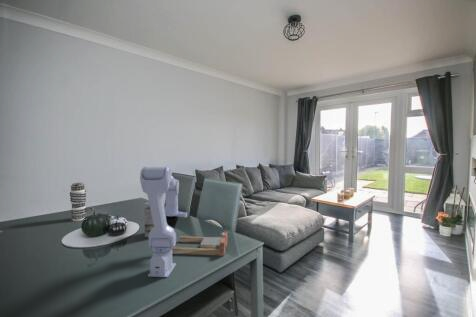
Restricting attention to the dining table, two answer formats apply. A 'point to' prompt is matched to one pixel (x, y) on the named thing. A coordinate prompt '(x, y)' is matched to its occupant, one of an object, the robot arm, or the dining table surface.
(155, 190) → the robot arm
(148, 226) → the coffee box
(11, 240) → the dining table surface
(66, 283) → the dining table surface
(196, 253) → the coupler track
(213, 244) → the lock block
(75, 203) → the decorative candle
